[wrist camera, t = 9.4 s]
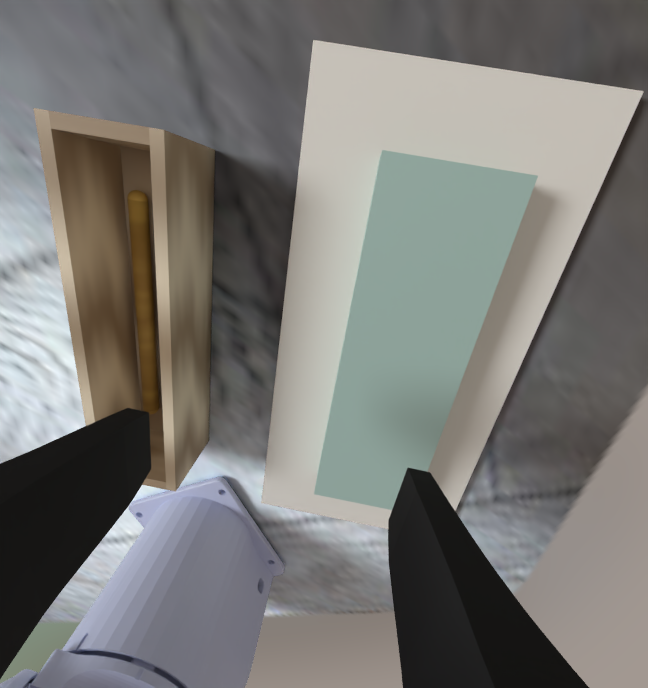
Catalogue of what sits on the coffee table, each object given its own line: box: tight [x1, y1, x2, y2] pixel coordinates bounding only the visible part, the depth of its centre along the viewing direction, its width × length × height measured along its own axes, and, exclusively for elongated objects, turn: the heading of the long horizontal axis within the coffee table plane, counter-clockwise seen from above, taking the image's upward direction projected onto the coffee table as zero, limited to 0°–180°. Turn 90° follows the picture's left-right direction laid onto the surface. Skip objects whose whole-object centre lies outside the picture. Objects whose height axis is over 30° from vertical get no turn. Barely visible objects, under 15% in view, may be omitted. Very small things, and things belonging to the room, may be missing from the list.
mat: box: [261, 40, 644, 529], centre depth 17 cm, size 24×12×1 cm, turn 171°
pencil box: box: [34, 108, 215, 491], centre depth 16 cm, size 16×4×4 cm, turn 171°
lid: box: [314, 150, 538, 510], centre depth 16 cm, size 17×6×2 cm, turn 171°
